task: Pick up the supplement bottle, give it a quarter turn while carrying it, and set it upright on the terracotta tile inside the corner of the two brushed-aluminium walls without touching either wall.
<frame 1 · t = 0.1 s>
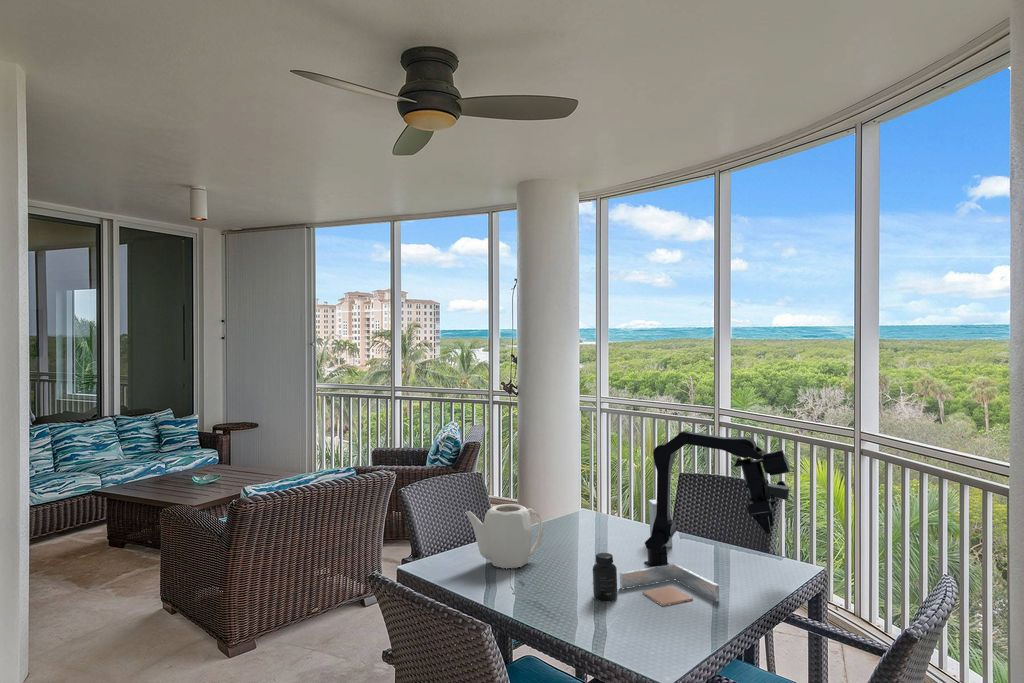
hand: (770, 529, 183), 15 cm above the table, tool pointing down, fingers open, 9 cm apart
corner walls: (667, 595, 174), resting in terracotta tile
supplement bottle: (605, 598, 173), on the table
skincare box: (660, 544, 221), on the table
terracotta tile: (667, 596, 173), on the table
white teapot: (505, 565, 203), on the table
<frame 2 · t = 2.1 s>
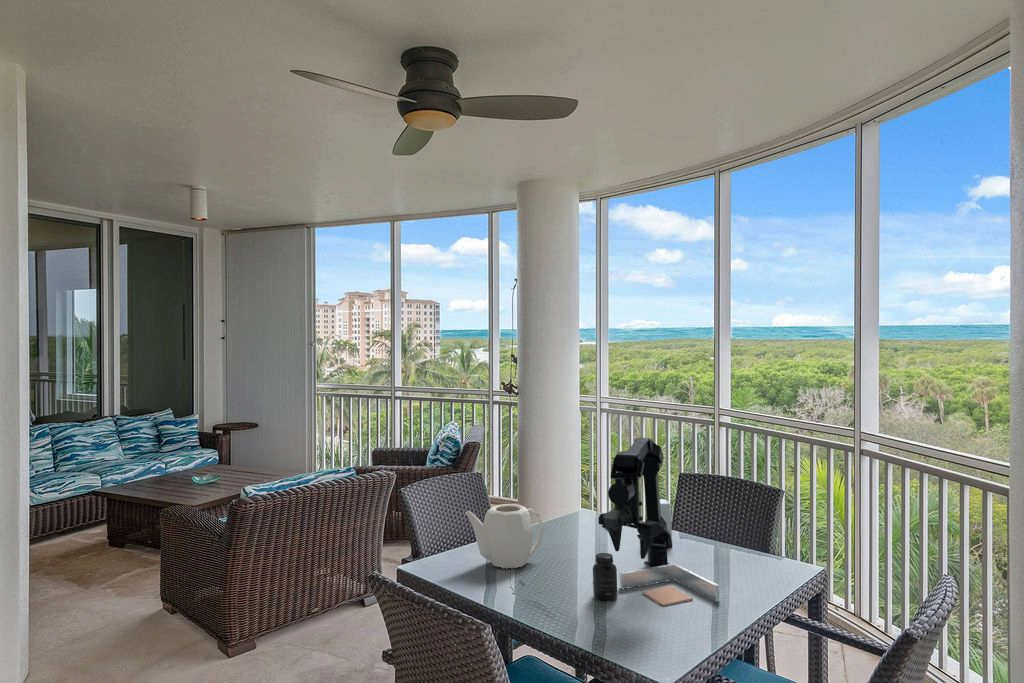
hand: (629, 554, 169), 13 cm above the table, tool pointing down, fingers open, 9 cm apart
nothing on the table moved.
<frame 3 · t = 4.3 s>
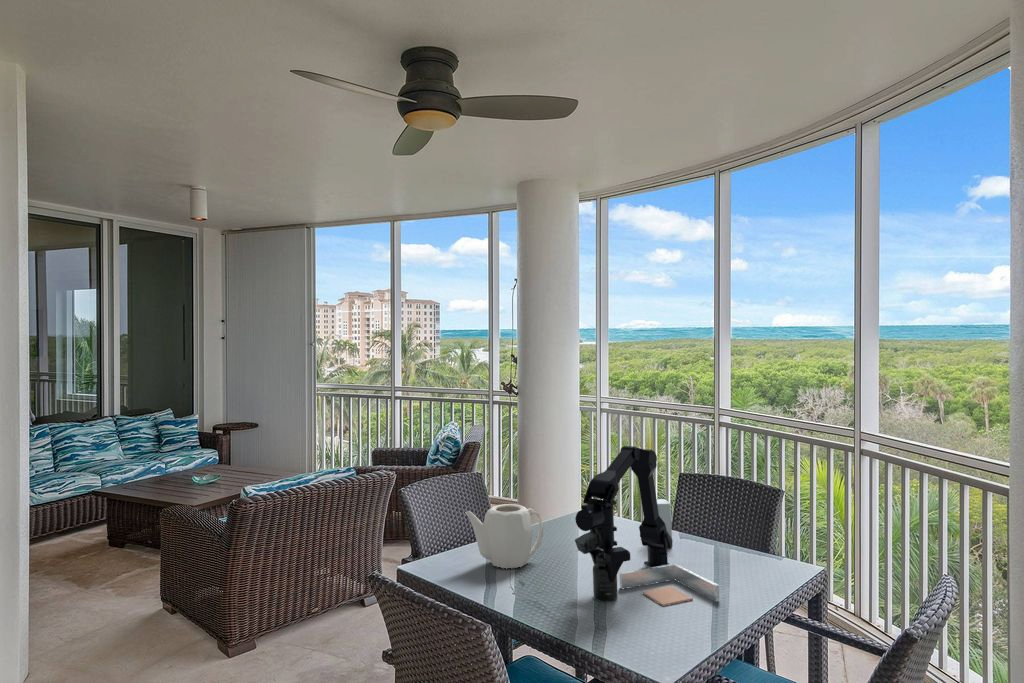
hand: (605, 577, 173), 6 cm above the table, tool pointing down, fingers closed on supplement bottle, 7 cm apart
supplement bottle: (605, 598, 173), on the table, touching gripper
everything else where it was.
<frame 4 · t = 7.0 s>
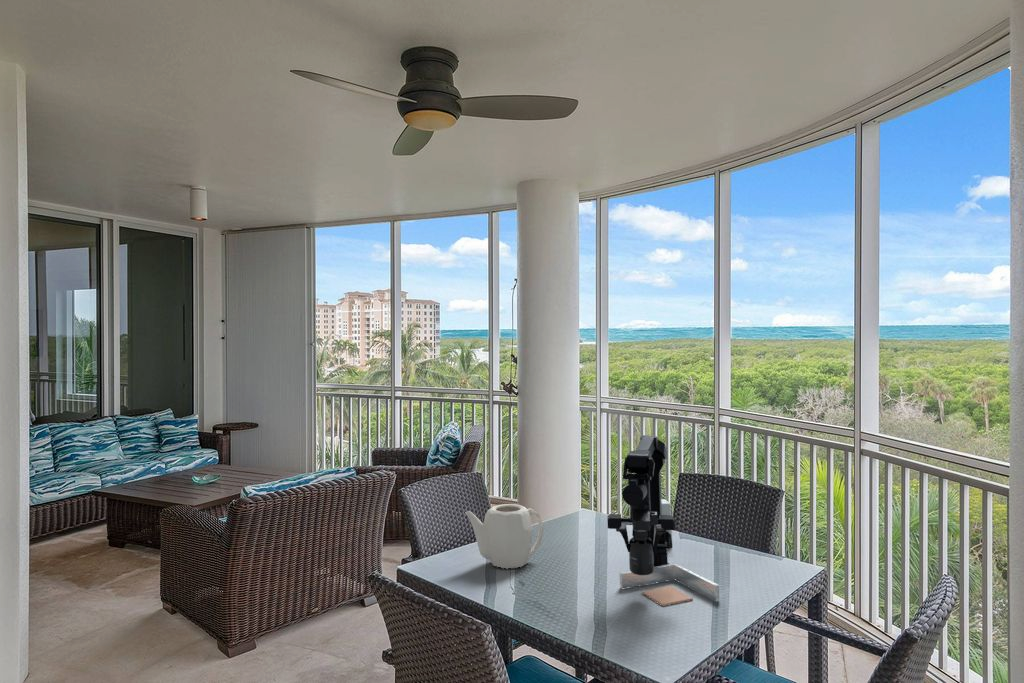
hand: (641, 552, 173), 13 cm above the table, tool pointing down, fingers closed on supplement bottle, 7 cm apart
supplement bottle: (641, 572, 173), point 7 cm above the table, touching gripper
everything else where it was.
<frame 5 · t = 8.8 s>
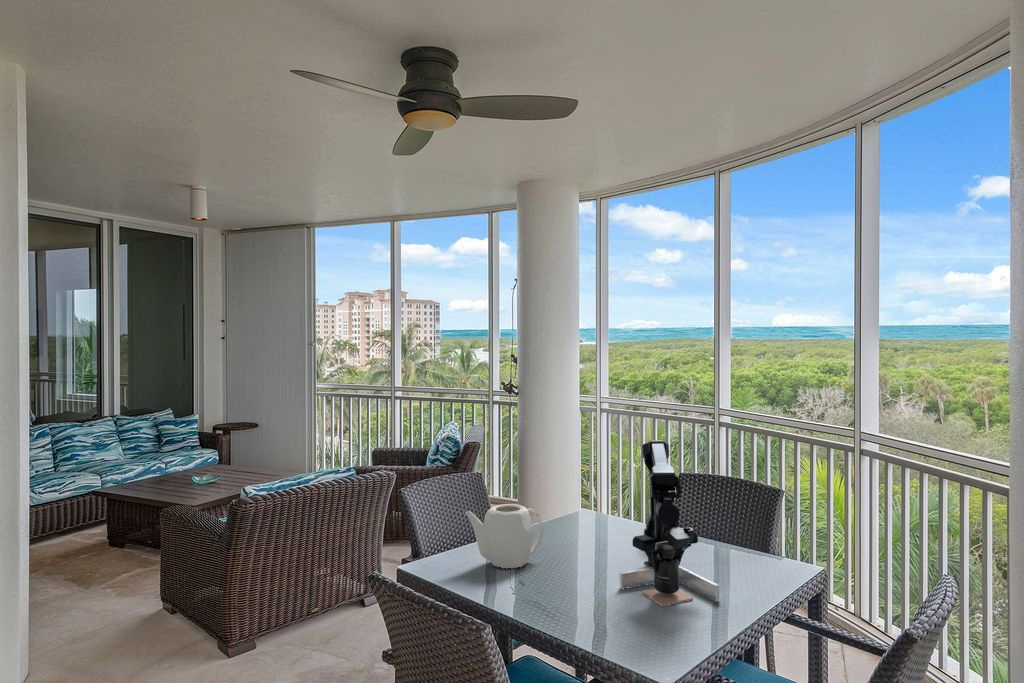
hand: (666, 569, 173), 8 cm above the table, tool pointing down, fingers closed on supplement bottle, 7 cm apart
supplement bottle: (666, 590, 173), point 2 cm above the table, touching gripper
everything else where it was.
when the fingers open (7 cm above the table, at t = 9.9 s): supplement bottle stays where it is, resting on terracotta tile.
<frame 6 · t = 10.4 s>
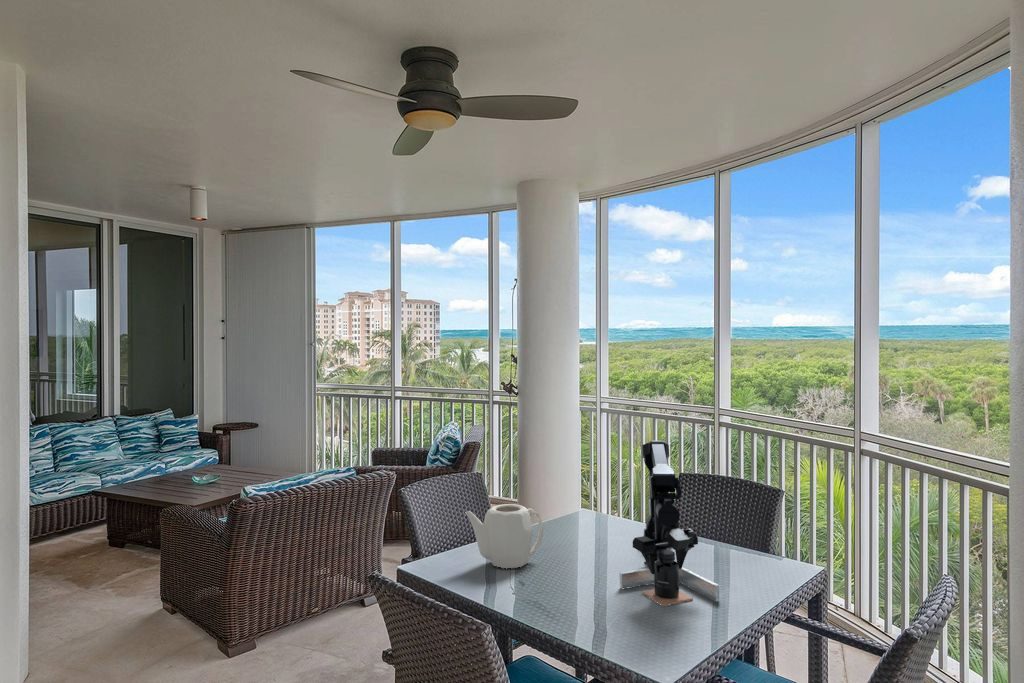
hand: (666, 571, 173), 7 cm above the table, tool pointing down, fingers open, 9 cm apart
supplement bottle: (667, 595, 173), resting on terracotta tile
everything else where it was.
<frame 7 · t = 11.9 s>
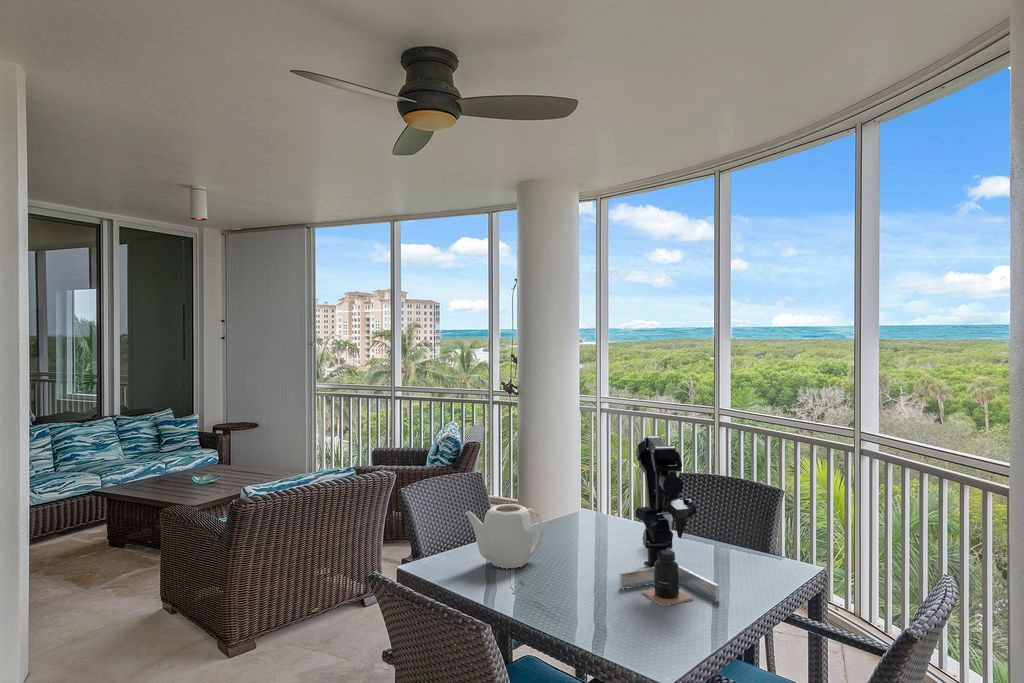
hand: (666, 539, 184), 13 cm above the table, tool pointing down, fingers open, 9 cm apart
nothing on the table moved.
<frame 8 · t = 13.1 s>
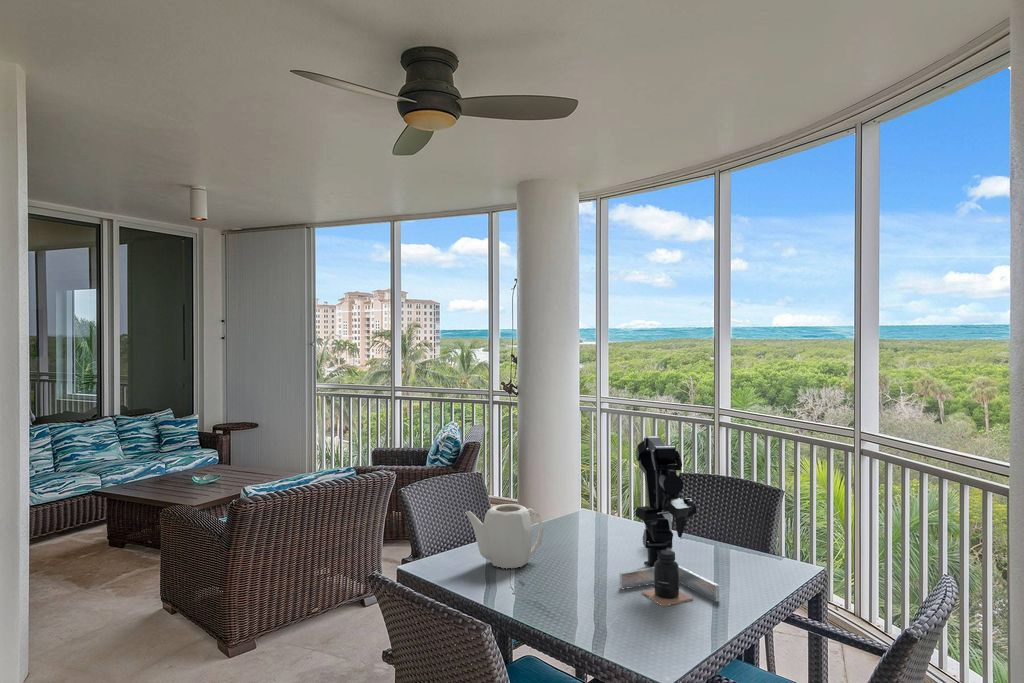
hand: (667, 539, 184), 13 cm above the table, tool pointing down, fingers open, 9 cm apart
nothing on the table moved.
at the end: supplement bottle 0.0 cm off-centre on the terracotta tile, point 0.4 cm above the terracotta tile's base; supplement bottle tilted 0°; supplement bottle touching terracotta tile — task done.
